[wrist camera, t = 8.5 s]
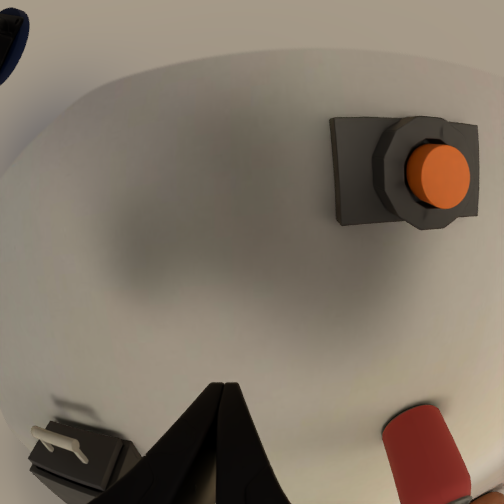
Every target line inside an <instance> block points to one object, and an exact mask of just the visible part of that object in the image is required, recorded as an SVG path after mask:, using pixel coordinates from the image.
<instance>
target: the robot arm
mask: <svg viewBox="0 0 504 504" xmlns="http://www.w3.org/2000/svg"><path fill="white" fill-rule="evenodd" d="M23 21H24V18H23V17H20V16H14V15H7V14H0V69H1V67H2V65H3V62H4V60H5V58H6V56H7V53H8V51H9V49H10V47H11V45H12V43H13V41H14V39H15V37H16V35H17V33H18V31H19V29H20V27H21V25H22V23H23ZM145 455H146V456H143V457H142V458H141V459H140V460H139V461H138V462H137V463H136V464H135V465H134V466H133V467H132V468H131V469H130V470H129V471H128V472H127V473H126V474H125V475H124V476H122V477H121V478H120V479H119V480H118V481H116V482H115V483H114V484H113V485H111V486H110V487H109V488H107V489H106V490H105V491H103V492H102V493H101V494H99V495H98V496H97V497H95V498H94V499H93V500H91V501H90V502H88V503H87V504H215V502H216V504H291V503H290V502H289V500H288V498H287V497H286V495H285V494H284V492H283V490H282V489H281V486H280V484H279V482H278V480H277V478H276V476H275V474H274V472H273V469H272V467H271V465H270V462H269V460H268V458H267V455H266V453H265V450H264V448H263V445H262V443H261V441H260V438H259V436H258V433H257V430H256V428H255V425H254V423H253V420H252V418H251V415H250V413H249V410H248V407H247V405H246V402H245V399H244V397H243V394H242V391H241V389H240V386H239V384H238V383H237V382H227V383H225V384H224V383H222V382H212V383H210V384H209V385H208V386H207V387H206V388H205V389H204V391H203V392H202V393H201V394H200V395H199V396H198V397H197V399H196V400H195V401H194V402H193V403H192V404H191V405H190V406H189V408H188V409H187V410H186V411H185V412H184V413H183V414H182V415H181V416H180V418H179V419H178V420H177V421H176V422H175V423H174V424H173V425H172V426H171V427H170V429H169V430H168V431H167V432H166V433H165V434H164V435H163V436H162V437H161V438H160V439H159V440H158V441H157V443H156V444H155V445H154V446H153V447H152V448H151V449H150V450H149V451H148V452H147V453H146V454H145Z"/></svg>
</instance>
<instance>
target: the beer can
mask: <svg viewBox="0 0 504 504" xmlns="http://www.w3.org/2000/svg"><path fill="white" fill-rule="evenodd" d="M382 440H383V443H384V446H385V450H386V453H387V456H388V460H389V463H390V466H391V470H392V473H393V477H394V481H395V484H396V488H397V492H398V495H399V499H400V503H401V504H469V503H470V501H471V500H472V496H470V495H471V480H470V475H469V473H468V470H467V468H466V466H465V463H464V461H463V459H462V457H461V454H460V452H459V450H458V448H457V446H456V444H455V441H454V439H453V437H452V435H451V433H450V431H449V429H448V427H447V425H446V423H445V421H444V419H443V417H442V415H441V413H440V411H439V409H438V408H437V407H435V406H433V405H420V406H415V407H413V408H410V409H408V410H406V411H404V412H402V413H400V414H399V415H398V416H396V417H395V418H394V419H392V420H391V422H390V423H389V424H388V425H387V426H386V428H385V430H384V432H383V434H382Z"/></svg>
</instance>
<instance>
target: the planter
mask: <svg viewBox="0 0 504 504" xmlns="http://www.w3.org/2000/svg"><path fill="white" fill-rule="evenodd" d="M469 504H504V495H503V494H502V493H499V492H490V493H487V494H485V495H483V496H481V497H479V498H477V499H476V500H474V501H472V502H471V503H469Z"/></svg>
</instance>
